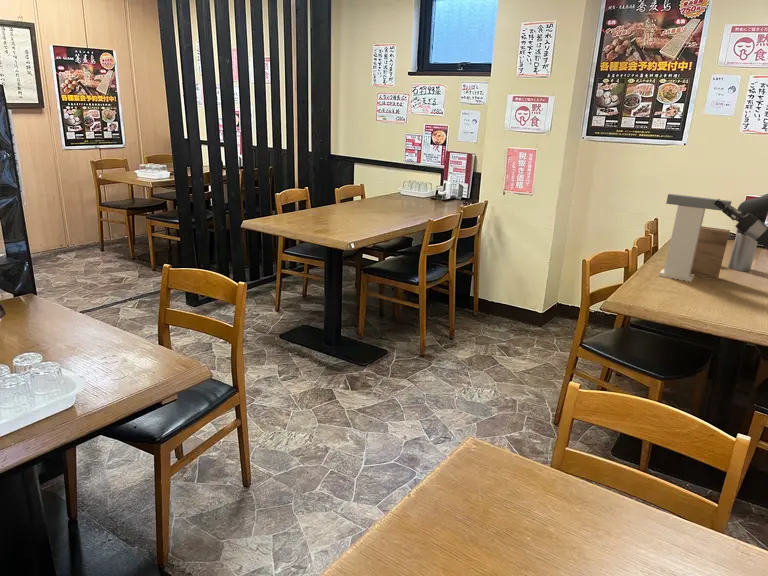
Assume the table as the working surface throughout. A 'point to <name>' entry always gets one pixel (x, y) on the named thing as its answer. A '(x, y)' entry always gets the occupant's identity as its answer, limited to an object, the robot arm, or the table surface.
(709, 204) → the grey block
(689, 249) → the tall stand
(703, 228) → the brown wooden block
